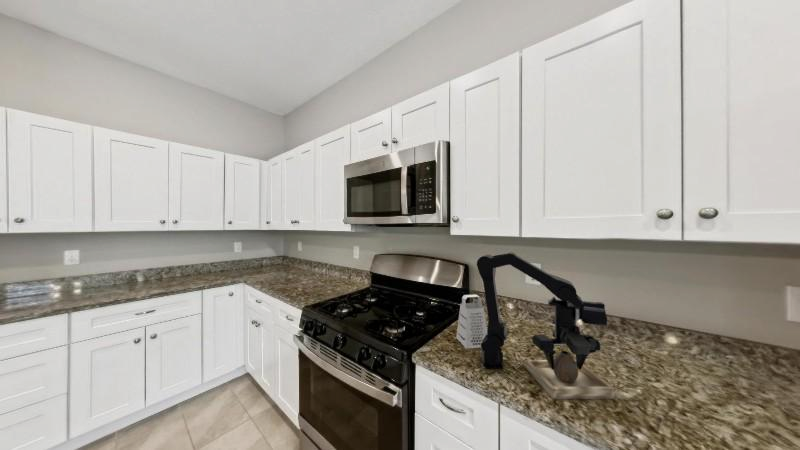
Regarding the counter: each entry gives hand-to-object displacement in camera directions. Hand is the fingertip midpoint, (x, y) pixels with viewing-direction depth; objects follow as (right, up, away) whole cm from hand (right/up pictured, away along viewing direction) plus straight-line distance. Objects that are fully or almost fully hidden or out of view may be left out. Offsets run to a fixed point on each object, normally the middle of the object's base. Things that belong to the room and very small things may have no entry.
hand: (565, 368), depth 82 cm
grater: (-22, -5, +29) cm, 37 cm away
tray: (0, -4, 0) cm, 4 cm away
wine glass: (+24, -4, +33) cm, 41 cm away
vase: (0, -4, 0) cm, 4 cm away
